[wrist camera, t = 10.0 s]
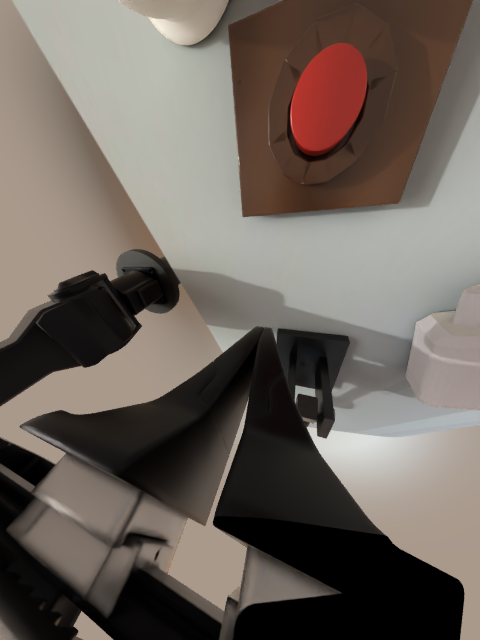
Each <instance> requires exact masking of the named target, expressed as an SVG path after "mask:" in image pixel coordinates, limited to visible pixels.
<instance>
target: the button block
mask: <svg viewBox="0 0 480 640" xmlns="http://www.w3.org/2000/svg"><path fill="white" fill-rule="evenodd" d="M472 1H473V0H284V1H281V2H279V3H277V4H275V5H273V6H270V7H268V8H266V9H264V10H261V11H259V12H257V13H255V14H253V15H250V16H248V17H246V18H244V19H241V20H239V21H237V22H235V23H233V24H230V25H229V26H228V29H229V42H230V55H231V69H232V82H233V96H234V109H235V122H236V136H237V149H238V162H239V176H240V189H241V202H242V216H243V217H249V216H261V215H272V214H283V213H295V212H306V211H318V210H329V209H341V208H352V207H364V206H375V205H387V204H398V203H399V202H400V199H401V196H402V194H403V191H404V188H405V185H406V183H407V180H408V177H409V174H410V172H411V169H412V166H413V163H414V161H415V158H416V155H417V152H418V150H419V147H420V144H421V141H422V139H423V136H424V133H425V130H426V128H427V125H428V122H429V119H430V117H431V114H432V111H433V108H434V106H435V103H436V100H437V97H438V95H439V92H440V89H441V86H442V84H443V81H444V78H445V75H446V73H447V70H448V67H449V64H450V62H451V59H452V56H453V53H454V51H455V48H456V45H457V42H458V40H459V37H460V34H461V31H462V29H463V26H464V23H465V20H466V18H467V15H468V12H469V9H470V7H471V4H472ZM337 43H347V44H351V45H353V46H354V47H356V48H357V49H358V50H359V51H360V53H361V54H362V56H363V58H364V60H365V63H366V68H367V89H366V95H365V99H364V102H363V105H362V108H361V110H360V113H359V115H358V117H357V119H356V121H355V122H354V124H353V125H352V127H351V129H350V130H349V131H348V133H347V134H346V136H345V137H344V138H343V140H342V141H341V142H340V143H339V144H338V145H337V146H336V147H335V148H333V149H332V150H331V151H329V152H327V153H325V154H323V155H319V156H310V155H307V154H305V153H303V152H302V151H301V150H300V149H299V148H298V146H297V145H296V143H295V140H294V137H293V133H292V128H291V121H290V111H291V103H292V98H293V95H294V91H295V88H296V86H297V83H298V81H299V79H300V77H301V75H302V73H303V72H304V70H305V68H306V67H307V65H308V64H309V63H310V62H311V60H312V59H313V58H314V57H315V56H316V55H317V54H318V53H320V52H321V51H322V50H324V49H325V48H327V47H329V46H331V45H333V44H337Z"/></svg>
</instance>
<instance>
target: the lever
mask: <svg viewBox="0 0 480 640" xmlns="http://www.w3.org/2000/svg"><path fill="white" fill-rule="evenodd" d="M296 406H297V408H298V410H299V412H300V414H301V417H302V419H303V421H304V423H305V425H306V428H307V427H308V425H309V423H310V422H311V423H315V422H317V421H318V398H316V397H311V396H307V395H302V394H298V396H297V399H296Z"/></svg>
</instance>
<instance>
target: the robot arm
mask: <svg viewBox="0 0 480 640" xmlns="http://www.w3.org/2000/svg"><path fill="white" fill-rule="evenodd" d="M121 270H122V272H123V274H124V275H123V276H121V277H118V278H116V279H114V280H112V281H109V279H108V278H107V275H106V274H105V273H104V274H100V275H99V273H96V272H95V271H93V270H92V271H89V272H87V273H84V274H81V275H78V276H76V277H73V278H71V279H68V280H65V281H63V282H61V283H59V285H58V289H56V290H54V292H53V293H51V294H49V295H48V297H49V298H50V299H51V301H49V302H47V303H44V304H42V305H39V306H37V307H35V308H33V309H30V310H29V311H28V312H27V313H26V315H25V316H24V317H23V319H22V320H21V321H20V323H19V324H18V326H17V327H16V328H15V330H14V332H13V333H12V334H11V335H10V337H9V338H8V339H6V340H4V341H2V342H0V406H2V405H3V404H5V403H6V402H8V401H9V400H11V399H12V398H14V397H15V396H17V395H18V394H20V393H21V392H23V391H24V390H26V389H28V388H29V387H30V386H32V385H34V384H35V383H37V382H38V381H40V380H41V379H43V378H44V377H46V376H47V375H49V374H51V373H52V372H55V371H60V370H64V369H69V368H74V367H78V366H83V367H85V368H86V367H90V366H93V365H96V364H98V363H99V362H100V361H101V360H102V359H104V358H105V357H106V356H107V355H109V354H112V353H114V352H116V351H118V350H119V349H121V348H123V347H124V346H125V345H126V344H127V343H128V342H129V341H130V340H131V339H132V338H133V336H134V335H135V334H136V333H137V332H138V330H139V329H140V328H141V327H142V325H141V324H140V323H139V322H138V321H137V319H136V318H135V315H137V314H138V313H139V312H141V311H142V310H144V309H145V308H147V307H148V306H150V305H151V304H163V305H165V304H166V303H167V300H166V297H165V295H164V292H163V290H162V287H161V285H160V282H159V279H158V277H157V274H156V272H155V269H154V268H153V267H123V268H121ZM151 270H152V271H151ZM248 398H249V401H248ZM247 401H248V407H247V413H246V419H245V425H244V429H243V433H242V436H241V439H240V442H239V445H238V448H237V451H236V454H235V456H234V459H233V462H232V465H231V468H230V471H229V473H228V476H227V479H226V483H225V485H224V488H223V491H222V493H221V496H220V499H219V502H218V505H217V508H216V512H215V516H214V520H213V525H214V526H215V527H216V528H218V529H219V530H221V531H222V532H224V533H225V534H227V535H228V536H230V537H231V538H233V539H234V540H236V541H237V542H239V543H240V544H242V545H243V546H245V547H247V552H246V558H245V564H244V570H243V577H242V582H241V587H238V588H237V589H236V590H234V591H233V592H232V593H231V594H230V595H228V598H227V601H226V606H225V611H223V610H221V609H220V608H218V607H217V606H215V605H214V604H212V603H211V602H209V601H208V600H206V599H205V598H203V597H202V596H200V595H199V594H197V593H196V592H194V591H193V590H191V589H189V588H188V587H187V586H185V585H184V584H182V583H180V582H179V581H177V580H176V579H174V578H173V577H171V576H170V575H168V571H169V568H170V566H171V563H172V560H173V557H174V555H175V552H176V549H177V546H178V544H179V541H180V538H181V535H182V533H183V530H184V527H185V524H186V522H187V519H188V518H190V519H192V520H194V521H196V522H198V523H200V524H202V525H204V526H205V525H206V522H207V519H208V517H209V514H210V511H211V508H212V505H213V502H214V499H215V496H216V493H217V490H218V487H219V484H220V481H221V478H222V475H223V472H224V469H225V466H226V463H227V460H228V458H229V454H230V451H231V448H232V446H233V443H234V440H235V437H236V434H237V431H238V428H239V425H240V422H241V419H242V416H243V413H244V410H245V407H246V404H247ZM20 428H22V429H23V430H25V431H27V432H29V433H31V434H33V435H34V436H36V437H38V438H40V439H42V440H44V441H46V442H47V443H49V444H51V445H53V446H55V447H57V448H59V449H61V450H62V451H64V452H66V454H65V455H64V456H63V457H62V458H61V460H60V461H59V462H58V463H57V464H55V463H53V462H51V461H49V460H47V459H45V458H43V457H41V456H39V455H38V454H36V453H34V452H31V451H29V450H27V449H25V448H23V447H21V446H18V445H16V444H14V443H12V442H10V441H8V440H6V439H4V438H1V437H0V640H82V639H80V638H78V637H76V635H77V633H78V630H77V629H76V628H75V627H73V625H74V624H75V622H76V620H77V618H78V616H79V614H80V613H81V611H82V612H84V613H85V614H86V615H87V616H88V617H89V618H90V619H91V620H93V621H94V622H95V623H96V624H97V625H98V626H99V627H100V628H102V629H103V630H104V631H105V632H106V633H107V634H108V635H109V636H110V637H111V638H112V639H113V640H460V634H461V624H462V615H463V605H464V588H463V585H462V584H461V582H460V581H459V580H458V579H456V578H454V577H452V576H450V575H449V574H447V573H445V572H443V571H441V570H439V569H437V568H435V567H433V566H431V565H430V564H428V563H426V562H424V561H422V560H420V559H418V558H416V557H414V556H412V555H410V554H408V553H407V552H405V551H403V550H401V549H399V548H398V547H397V546H395V545H394V544H393V543H392V542H391V540H390V539H389V538H388V537H387V536H386V535H384V534H383V533H382V532H381V531H380V530H379V529H378V528H377V527H376V526H375V525H374V524H373V523H372V522H371V521H370V520H369V518H368V517H367V516H366V515H365V513H364V512H363V511H362V509H361V508H360V507H359V505H358V504H357V503H356V502H355V500H354V499H353V497H352V496H351V495H350V493H349V492H348V491H347V489H346V488H345V487H344V485H343V484H342V483H341V481H340V480H339V479H338V477H337V476H336V475H335V474H334V472H333V471H332V469H331V468H330V467H329V466H328V464H327V463H326V462H325V460H324V459H323V458H322V456H321V455H320V453H319V451H318V450H317V448H316V446H315V444H314V442H313V440H312V438H311V436H310V434H309V432H308V430H307V428H306V425H305V423H304V421H303V419H302V417H301V414H300V412H299V410H298V408H297V406H296V403H295V401H294V398H293V396H292V394H291V391H290V388H289V385H288V382H287V378H286V376H285V372H284V368H283V365H282V362H281V358H280V355H279V351H278V348H277V344H276V341H275V338H274V334H273V331H272V328H267V327H265V328H263V327H258V326H257V327H255V328H254V329H252V330H251V331H250V332H249V333H247V334H246V335H245V336H244V337H242V338H241V339H240V340H239V341H237V342H236V343H235V344H234V345H232V346H231V347H230V348H229V349H228V350H226V351H225V352H224V353H223V354H221V355H220V356H219V357H218V358H216V359H215V360H214V362H211V363H210V364H209V365H208V366H206V367H205V368H204V369H202V370H201V371H200V372H198V373H197V374H196V375H194V376H193V377H191V378H190V379H188V380H187V381H185V382H184V383H182V384H181V385H179V386H178V387H176V388H175V389H173V390H172V391H170V392H168V393H167V394H165V395H164V396H162V397H160V398H158V399H156V400H154V401H150V402H147V403H142V404H137V405H132V406H127V407H123V408H117V409H112V410H107V411H102V412H98V413H92V414H83V415H75V414H70V413H68V412H66V411H63V410H59V411H55V412H52V413H48V414H44V415H41V416H38V417H36V418H33V419H31V420H29V421H27V422H25V423H24V424H22V425H20Z"/></svg>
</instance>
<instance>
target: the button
mask: <svg viewBox="0 0 480 640" xmlns="http://www.w3.org/2000/svg"><path fill="white" fill-rule="evenodd" d="M366 89H367V68H366V63H365V60H364V58H363V56H362V54H361V53H360V51H359V50H358V49H357V48H356V47H354V46H353V45H351V44H347V43H337V44H333V45H331V46H329V47H327V48H325V49H324V50H322V51H321V52H320V53H318V54H317V55H316V56H315V57H314V58H313V59H312V60H311V62H310V63H309V64H308V65H307V67H306V68H305V70H304V72H303V73H302V75H301V77H300V79H299V81H298V83H297V86H296V88H295V91H294V95H293V98H292V103H291V111H290V121H291V128H292V133H293V137H294V140H295V143H296V145H297V146H298V148H299V149H300V150H301V151H302V152H303V153H305V154H307V155H310V156H319V155H323V154H325V153H327V152H329V151H331V150H332V149H333V148H335V147H336V146H337V145H338V144H339V143H340V142H341V141H342V140H343V138H344V137H345V136H346V134H347V133H348V131H349V130H350V129H351V127H352V125H353V124H354V122H355V121H356V119H357V117H358V115H359V113H360V110H361V108H362V105H363V102H364V99H365V95H366Z"/></svg>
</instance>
